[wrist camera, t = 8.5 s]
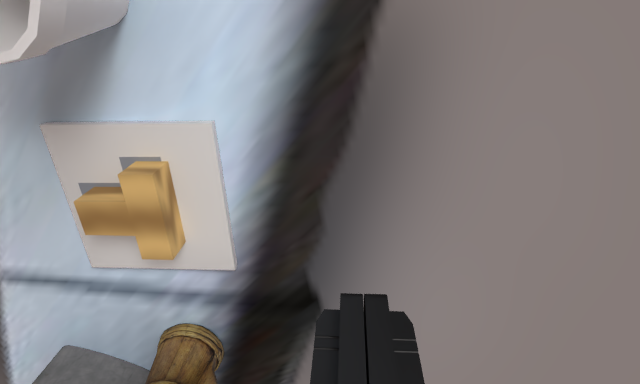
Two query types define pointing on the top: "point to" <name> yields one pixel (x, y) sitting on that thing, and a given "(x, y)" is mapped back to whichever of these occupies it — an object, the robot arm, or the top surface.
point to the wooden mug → (186, 356)
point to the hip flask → (90, 369)
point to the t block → (137, 210)
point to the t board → (187, 175)
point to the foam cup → (51, 24)
